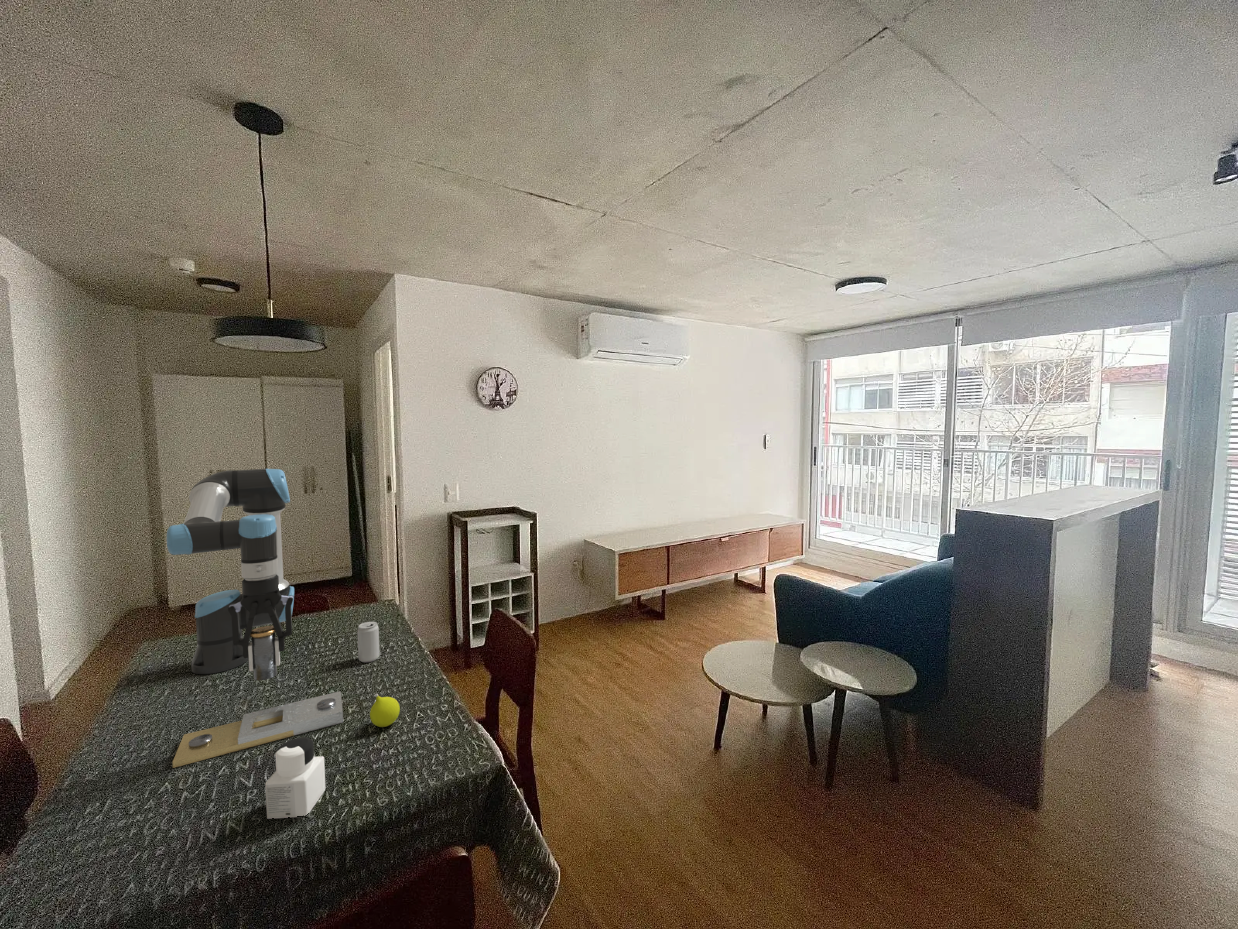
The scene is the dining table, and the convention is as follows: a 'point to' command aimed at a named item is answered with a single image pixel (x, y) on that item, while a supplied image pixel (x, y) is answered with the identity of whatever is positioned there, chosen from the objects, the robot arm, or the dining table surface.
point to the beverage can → (368, 642)
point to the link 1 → (220, 742)
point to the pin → (264, 652)
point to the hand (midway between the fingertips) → (265, 666)
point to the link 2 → (294, 717)
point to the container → (295, 780)
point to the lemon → (384, 711)
